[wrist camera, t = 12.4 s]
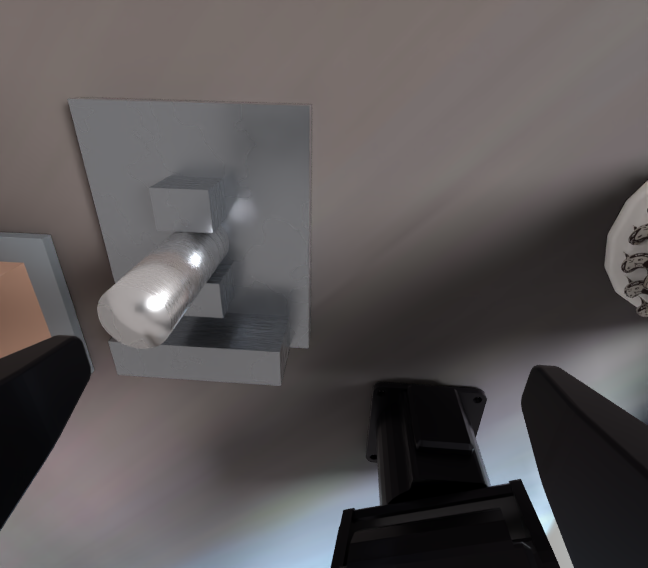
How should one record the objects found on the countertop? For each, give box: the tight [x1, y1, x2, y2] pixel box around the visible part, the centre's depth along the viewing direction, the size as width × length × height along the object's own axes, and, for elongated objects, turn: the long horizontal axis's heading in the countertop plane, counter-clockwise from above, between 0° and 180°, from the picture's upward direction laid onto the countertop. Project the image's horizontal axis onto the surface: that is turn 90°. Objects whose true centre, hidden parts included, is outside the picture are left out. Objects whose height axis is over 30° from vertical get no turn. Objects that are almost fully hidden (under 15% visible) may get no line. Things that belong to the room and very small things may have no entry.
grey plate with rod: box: [68, 97, 312, 386], centre depth 16 cm, size 12×10×8 cm
